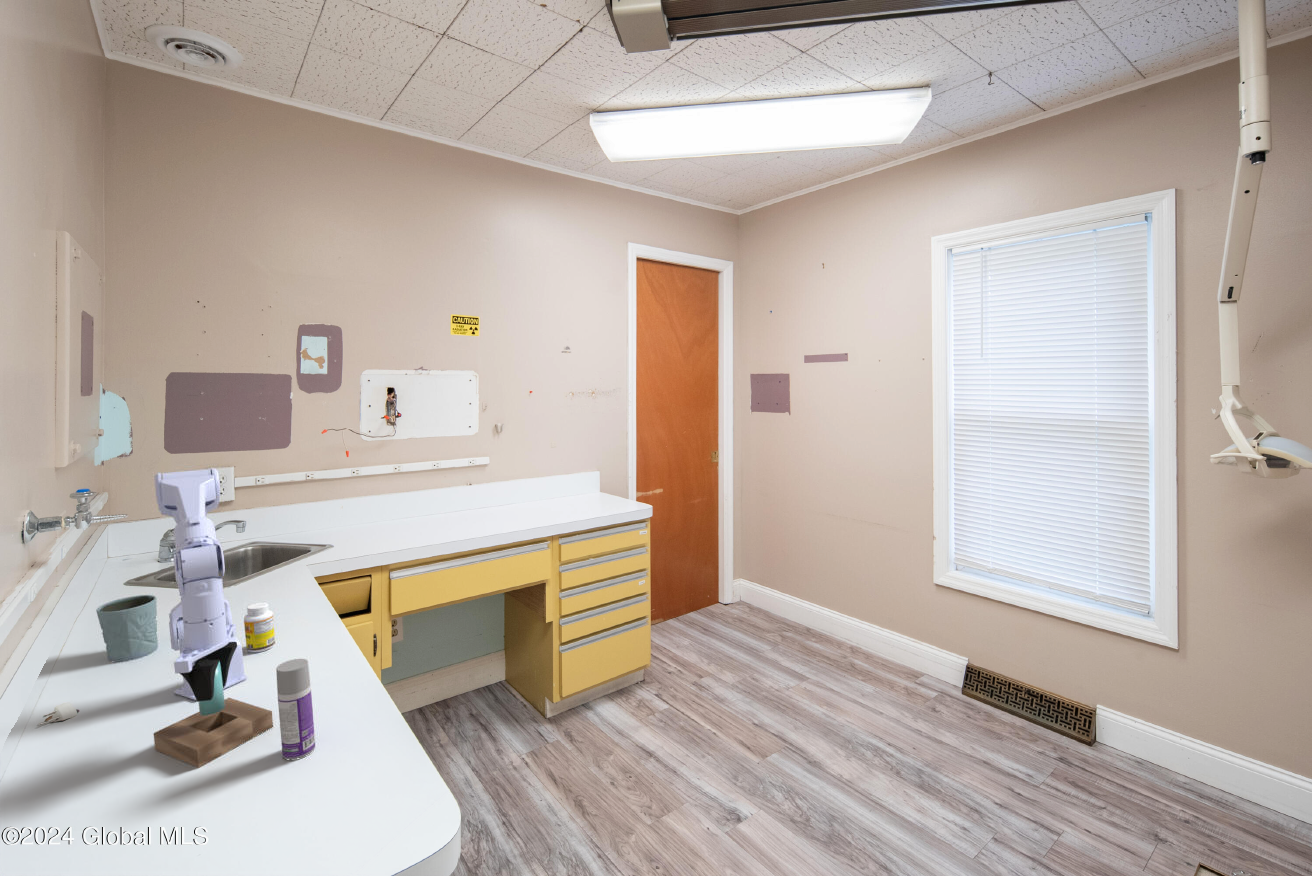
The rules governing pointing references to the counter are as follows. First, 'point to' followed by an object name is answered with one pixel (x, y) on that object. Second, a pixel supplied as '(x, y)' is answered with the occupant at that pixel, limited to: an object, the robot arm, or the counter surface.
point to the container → (295, 709)
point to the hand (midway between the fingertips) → (211, 693)
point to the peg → (214, 696)
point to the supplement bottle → (259, 628)
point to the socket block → (212, 732)
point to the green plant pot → (129, 627)
